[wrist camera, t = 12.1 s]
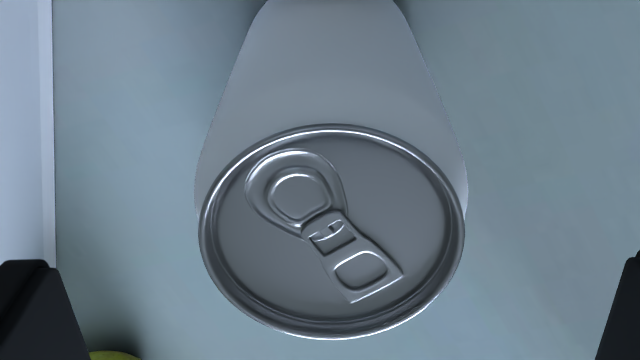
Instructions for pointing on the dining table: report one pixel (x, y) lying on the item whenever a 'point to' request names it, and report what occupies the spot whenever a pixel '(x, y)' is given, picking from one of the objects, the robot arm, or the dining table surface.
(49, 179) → the book
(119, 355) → the fruit
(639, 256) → the robot arm
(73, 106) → the dining table surface
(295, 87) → the can
